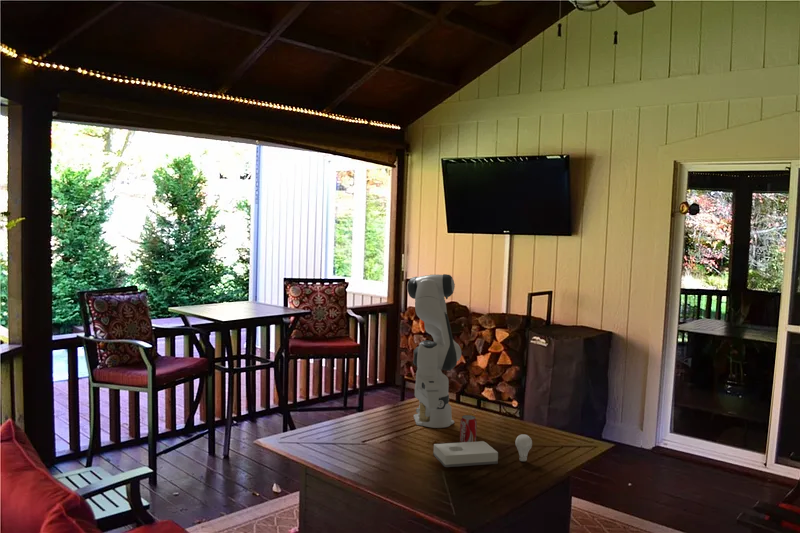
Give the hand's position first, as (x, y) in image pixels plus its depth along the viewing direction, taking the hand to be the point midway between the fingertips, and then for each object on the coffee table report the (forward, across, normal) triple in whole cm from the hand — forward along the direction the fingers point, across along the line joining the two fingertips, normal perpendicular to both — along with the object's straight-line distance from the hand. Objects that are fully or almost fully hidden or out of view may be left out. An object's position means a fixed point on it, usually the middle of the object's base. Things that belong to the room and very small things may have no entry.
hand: (424, 414), depth 259 cm
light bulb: (+15, +19, +36) cm, 43 cm away
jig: (+15, +12, +14) cm, 24 cm away
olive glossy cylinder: (+3, 0, 0) cm, 3 cm away
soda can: (+16, -5, +22) cm, 28 cm away
